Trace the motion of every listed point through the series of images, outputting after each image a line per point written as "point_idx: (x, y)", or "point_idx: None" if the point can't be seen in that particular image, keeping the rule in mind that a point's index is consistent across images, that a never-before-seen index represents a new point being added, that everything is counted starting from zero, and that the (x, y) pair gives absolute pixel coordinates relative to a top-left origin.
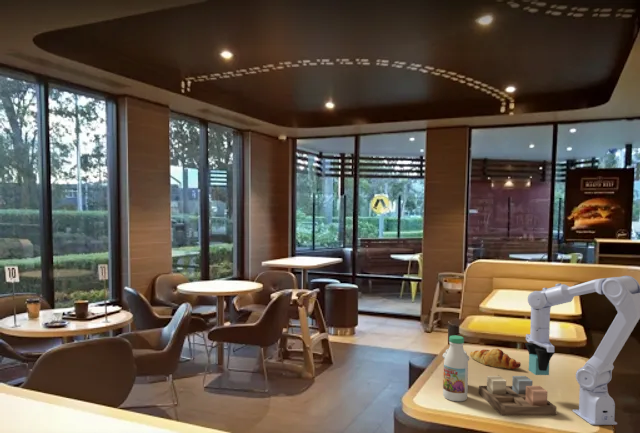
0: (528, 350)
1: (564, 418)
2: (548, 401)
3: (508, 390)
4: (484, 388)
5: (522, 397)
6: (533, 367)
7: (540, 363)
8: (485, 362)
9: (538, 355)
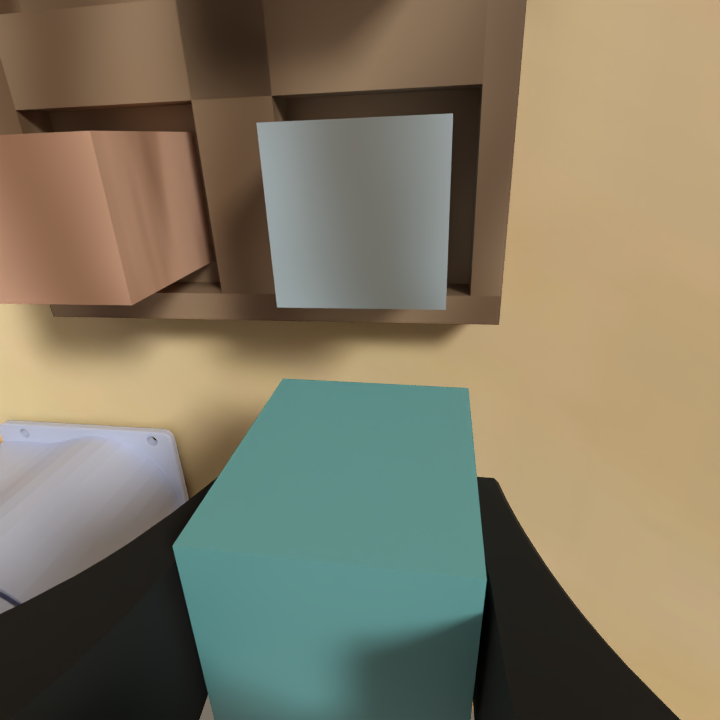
0: (584, 670)
1: (57, 323)
2: (145, 313)
3: (370, 26)
4: None
5: (194, 111)
6: (320, 424)
7: (167, 524)
8: None
9: (41, 622)
